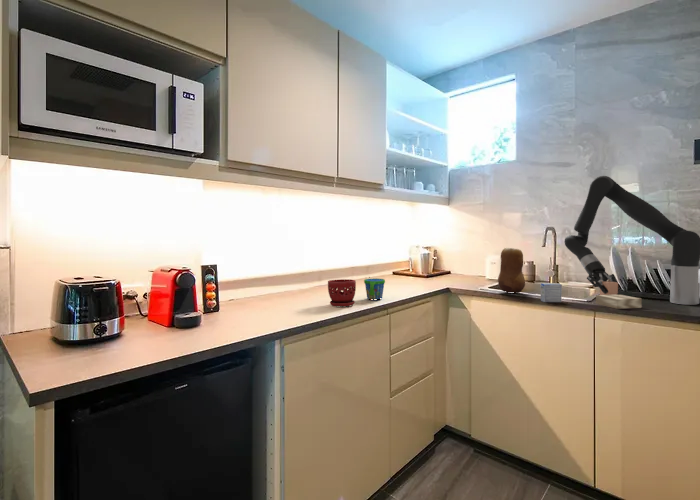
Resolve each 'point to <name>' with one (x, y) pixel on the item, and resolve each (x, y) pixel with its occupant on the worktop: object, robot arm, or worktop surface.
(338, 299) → the plant pot
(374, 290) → the blue green flowerpot
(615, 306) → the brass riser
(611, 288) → the terracotta block
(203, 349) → the worktop surface
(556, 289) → the medicine box
